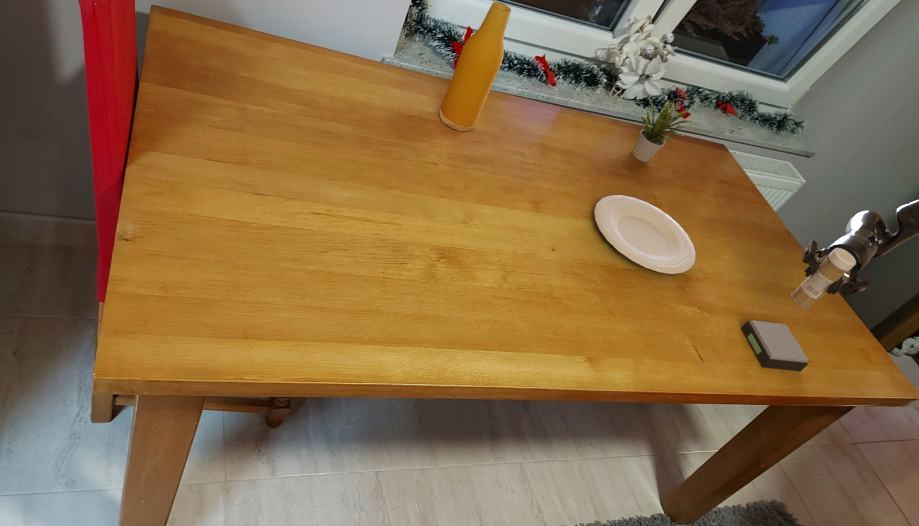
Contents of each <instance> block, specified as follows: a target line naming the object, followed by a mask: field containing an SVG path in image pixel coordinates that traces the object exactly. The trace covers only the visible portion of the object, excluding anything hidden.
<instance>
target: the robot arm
mask: <svg viewBox="0 0 919 526" xmlns="http://www.w3.org/2000/svg"><path fill="white" fill-rule="evenodd" d="M894 216H895V220H896V224H897V231H896V232H894V233H892V232H891V230H890V229H889V227H888V225H887V223H886V220H885V219H884V217H883V215H882V214H881V213H880V212H878V211H876V210H872V209H871V210H870V209H868V210H867V209H866V210H863V211H860V212H858V213H856V214H854V215H853V216H852V217H851V218H850V219H849V220H848V221H847V223H846V225H845V228H844V232H843V236H841V237H839V238H838V239H836V240H835V241H834V242H833V243H831V244H830V245H829V246H828V247H827V248H826V247H825V248H820V247H819V245H818V242H817V241H816V240H813V239H812V240H811V241H810V242H809V243H808V244H807V245H806V247H804V249H803V254H802V259H801V262H802V263H804V264H805V265H808V266H806V268H805V269H804V270H803V272H804V273H805V274H804V276H805V277H806V278H808V277H809V276H810V275H811V274H812V273H813V272H814V271H815V270H816V269H817V268H818V267H819V266H820V265H821V264H822V263H823V262H824V261H825V260H826V259H827V257H828V256H829V254H830V253H831V252H832V251H833V250H834V249H835V248H841V249H844V250H846V251H847V252H849V253H850V254H851V255H852V256H853V257H854V258H855V260H856V264H855V265H854V266H853V268H852V269H851V270H849V271H848V272H846V273H845V274H844V275H843V276H842V277H841V278H840V279H839V280H838V281H837V282H836V283H835V284H834V285H833V286H832V287H831V288H830V289H829V290H828V291H827V292H826V293H827V294H828V295H836V294H837V293H838V292H839V291H842V294H843V295H844V296H846V297H849V296H854V295H859V294H862V293H863V292H864V291H866V289H868V287H869V286H870V285H871V283H870V282H869V281H867V280H862V279H860V278H859V276H860V275H859V274H860V272H861V271H862V270H863V269H865V267H866V266H867V265H868V264H869V262H870V261H871V259H873V258H874V259H877V258H880V257H882V256H884V255H887V253H889V252H890V251H892V250H894V249H895V248H896V247H898V246H900V245H901V244H903V243H905V242H906V241H908V240H910V239H912V238H914V237H916V236H919V199H916V200H913V201H910V202H907V203H905V204H903V205H901V206H899V207H897V208H896V209H895V214H894ZM816 256H817V258H816Z"/></svg>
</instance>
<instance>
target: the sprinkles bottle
mask: <svg viewBox="0 0 919 526" xmlns="http://www.w3.org/2000/svg"><path fill="white" fill-rule="evenodd" d="M855 264H856V260H855V258H854V257H853V256H852V255H851V254H850V253H849V252H847V251H846V250H844V249H841V248H835V249H834V250H833V251H832V252H831V253H830V254H829V256H828V257H827V259H826V260H825V261H824V262H823V263H822V264H821V265H820V266H819V267H818V268H817V269H816V270H815V271H814V272H813V273H812V274H811V275H810V276H809V277H806V278H805V279H804V281H802V282H801V284H800V285H799V286H798V287H797V288H796V289H795V290H794V291H792V292H791V293H790V298H791V301H792V302H793V303H794V305H796V306H797V307H799V308H801V309H803V310H807V311H809V310H810V309H812V307H813V306H814V305H815V304H816V303H817V302H818V301H819V300H820V299H822V297H824V296H825V295H826V293H827V291H828V290H829V289H830V288H831V287H832V286H833V285H834V284H835V283H836V282H837V281H838V280H839V279H840V278H841V277H842V276H843V275H844V274H845V273H846V272H848V271H849V270H851V269H852V268H853V266H854V265H855Z"/></svg>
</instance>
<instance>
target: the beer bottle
mask: <svg viewBox="0 0 919 526" xmlns="http://www.w3.org/2000/svg"><path fill="white" fill-rule="evenodd" d="M511 12H512V8H510V6H508V5H507V4H505V3H503V2H500V1H493V2H492V4H491V5H490V7H489V9H488V11H487V12H486V15H485V17H484V19H483V20H482V23H481V24H480V26H479V28H478V29H477V30H475V32H474V33H472V34H471V36H469V37H468V39H467V40H466V41H465V43H464V45H463V47H462V50H461V51H460V55H459V58H458V61H457V62H456V66H455V68H454V71H453V74H452V76H451V79H450V82H449V84H448V87H447V89H446V93H445V94H444V98H443V100H442V102H441V105H440V107H441V108H440V107H439V110H440V109H441V112H442V114H443V115H444V116H445V117H446V118H447V119H448V120H450V121H451V122H453V123H455V124H457V125H461V126H464V127H471V126H474V125H475V124H476V125H477V123H478V121H479V118H480V116H481V113H482V111H483V108H484V106H485V104H486V101H487V99H488V96H489V94H490V92H491V90H492V87H493V85H494V82H495V80H496V77H497V75H498V73H499V71H500V69H501V66H502V63H503V60H504V55H505V54H504V52H505V50H504V49H505V48H504V46H505V45H504V38H505V33H506V29H507V27H508V23H509V19H510V17H511ZM476 125H475V126H476Z"/></svg>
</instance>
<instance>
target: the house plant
mask: <svg viewBox="0 0 919 526" xmlns="http://www.w3.org/2000/svg"><path fill="white" fill-rule="evenodd" d="M647 98H648V100H649V103H650V107H651V108H650V111H651V117H650V113H649V112H648V111H646V117H644V116H642V115H639V117H640V119H641V120H642V122H643V124H642V126H645V128H642V129H640V132H639V134H638V136H637V139H636V141H635V144H634V146H633V148H634V150H635V152H636V153H637V154H638V155H639V156H638V155H637V154H636V153H635V152H634V150H633V149H632V151H631V154H632V156H634V158H635V159H636V160H638V161H641V162H642V163H643V162H644V163H649V162H650V161H651V160H652V159H653V157H655V156H656V155H657V154H658V152H659V151H660V150H661V149H662V148H663V147H664V146H665V145H666V142H667V141H670V140H671V137H676V136H679V138H681V136H682V137H685V138H686V136H685V135H683V134H681V133H678V132H677V131H675V130H677V129H680V130H682V129H688V130H690V128H689V127H687V126H683V125H682V126H681V125H680V124H686V123H691V124H695V125H697V123H696V122H694V121H692V120H687V119H686V120H680V121H677V120H679V119H680V118H682V117H683V116H685V114H686V113H688V112H689V110H683V111H680V112H678V113H677V114H675V115H674V116H673V115H672V114H673V113H674V107H675V101H673V102H672V104H671V107H670V101H669V99H667V101H666V102H665V104H664V106H663V108H662V110H661V111H660V113H659V114H658V117H657V118H656V120H655V106H654V103H653V101H652V99H651V98H650V97H649V96H647ZM674 126H677V127H674ZM672 127H673V128H672ZM670 128H672V129H670ZM667 134H669V135H667ZM641 157H642V158H641Z"/></svg>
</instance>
